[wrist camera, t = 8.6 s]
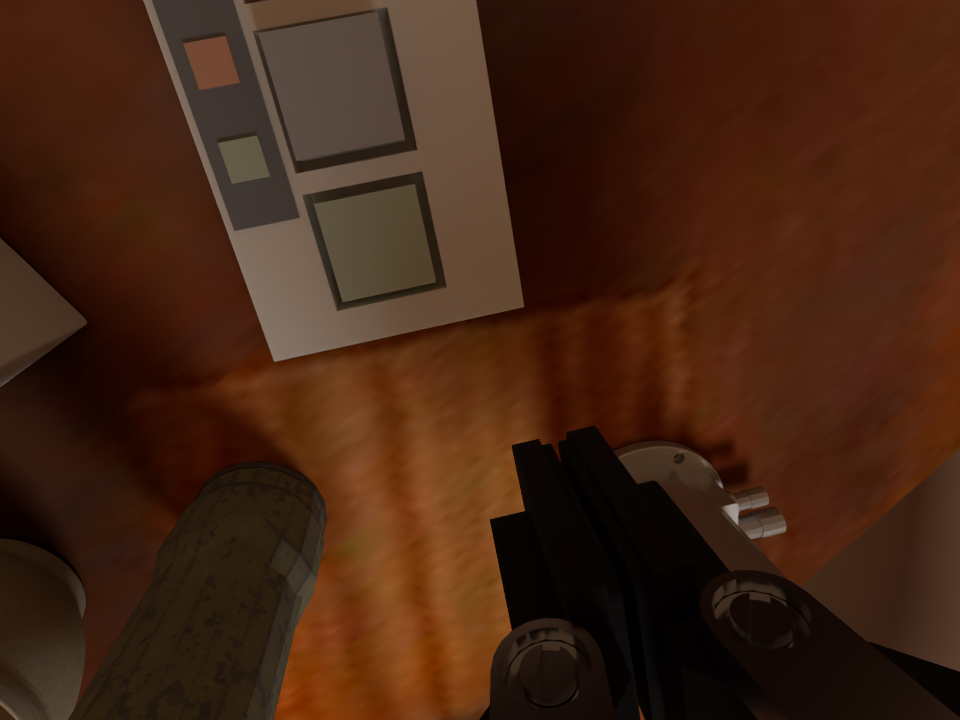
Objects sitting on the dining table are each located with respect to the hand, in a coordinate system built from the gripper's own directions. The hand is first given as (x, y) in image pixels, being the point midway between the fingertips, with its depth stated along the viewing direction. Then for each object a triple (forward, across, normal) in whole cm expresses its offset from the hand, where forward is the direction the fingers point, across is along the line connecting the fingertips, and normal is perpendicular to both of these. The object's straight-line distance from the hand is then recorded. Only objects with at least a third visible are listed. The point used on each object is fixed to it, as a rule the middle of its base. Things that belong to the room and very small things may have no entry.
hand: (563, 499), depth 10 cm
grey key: (+19, +4, -11) cm, 23 cm away
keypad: (+22, +4, -11) cm, 25 cm away
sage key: (+21, +4, -4) cm, 22 cm away
